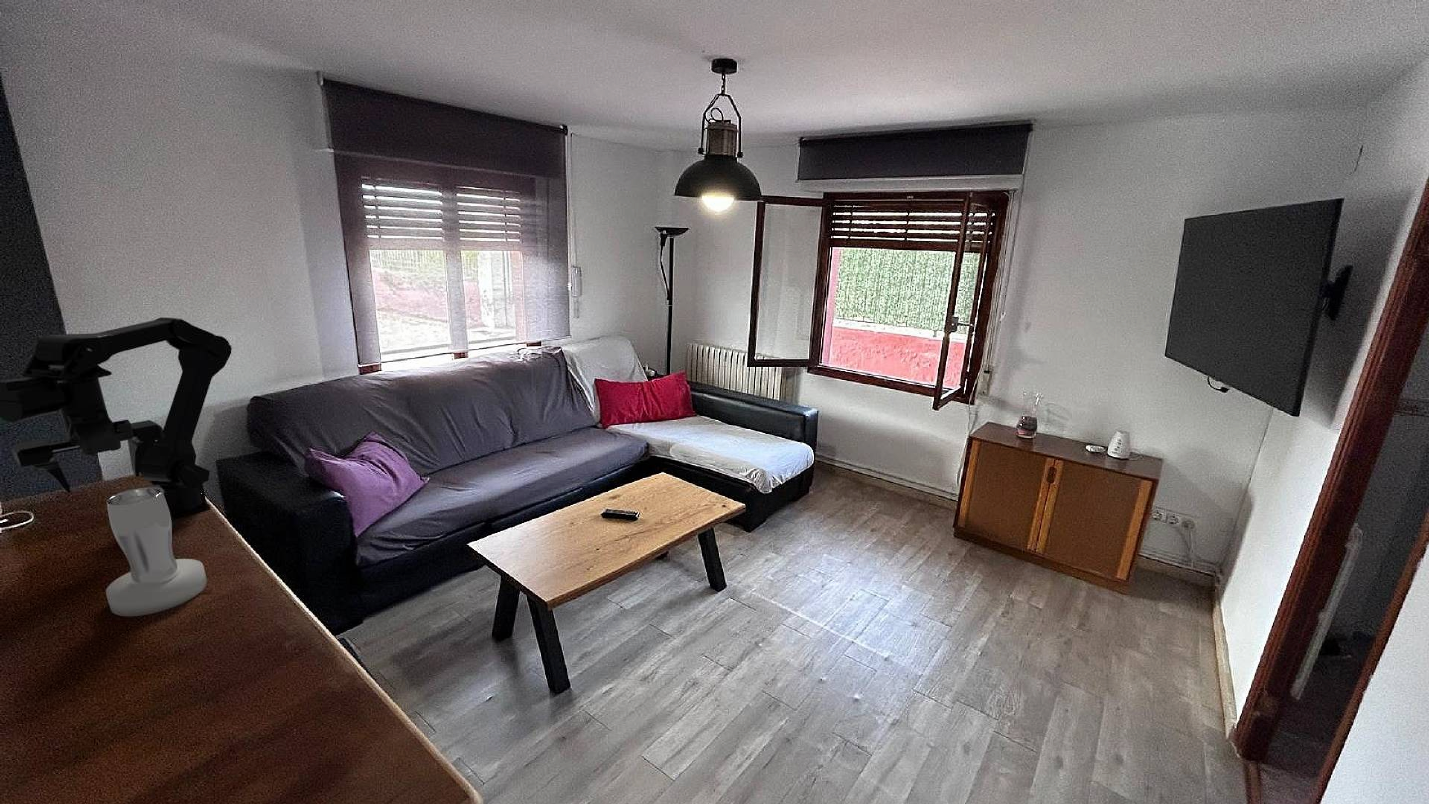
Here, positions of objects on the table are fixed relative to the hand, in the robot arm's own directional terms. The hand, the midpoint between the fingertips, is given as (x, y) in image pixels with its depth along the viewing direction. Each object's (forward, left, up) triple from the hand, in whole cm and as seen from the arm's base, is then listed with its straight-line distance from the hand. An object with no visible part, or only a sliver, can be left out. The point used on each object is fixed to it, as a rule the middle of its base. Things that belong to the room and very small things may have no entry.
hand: (104, 484), depth 111 cm
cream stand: (+1, +27, -12) cm, 30 cm away
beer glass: (+1, +26, -9) cm, 28 cm away
